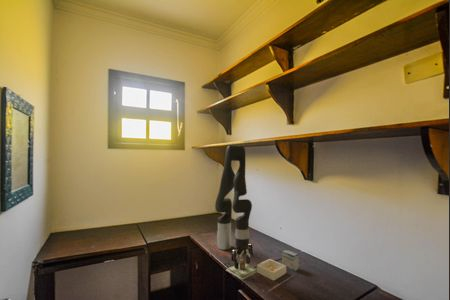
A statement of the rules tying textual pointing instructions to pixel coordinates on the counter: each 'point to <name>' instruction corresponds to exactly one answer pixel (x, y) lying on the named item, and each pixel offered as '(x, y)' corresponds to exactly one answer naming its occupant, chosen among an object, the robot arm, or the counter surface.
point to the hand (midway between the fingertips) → (242, 266)
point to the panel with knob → (239, 276)
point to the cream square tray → (273, 275)
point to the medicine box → (290, 260)
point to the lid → (243, 269)
